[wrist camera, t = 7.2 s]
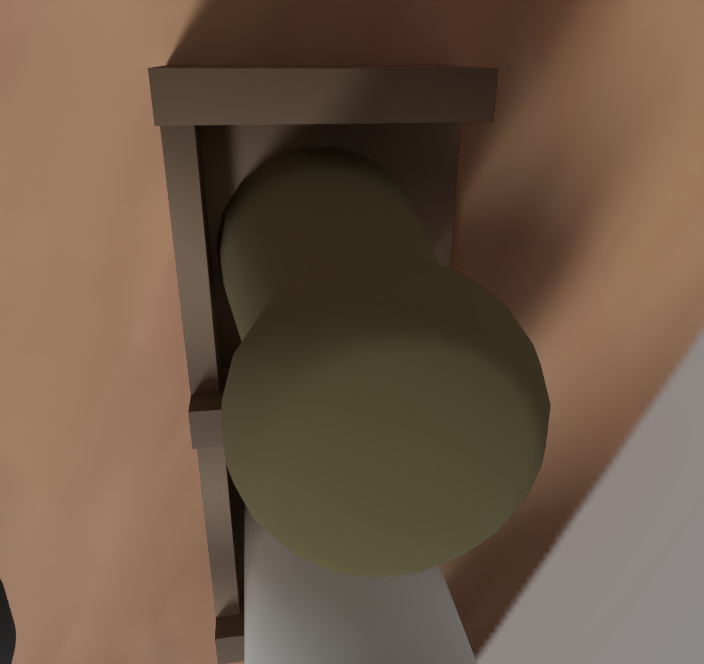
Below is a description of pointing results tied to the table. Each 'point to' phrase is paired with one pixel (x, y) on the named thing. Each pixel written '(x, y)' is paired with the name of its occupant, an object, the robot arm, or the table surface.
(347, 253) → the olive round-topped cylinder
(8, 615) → the robot arm
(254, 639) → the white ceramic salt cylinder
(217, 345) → the walnut slot rack
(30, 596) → the table surface
